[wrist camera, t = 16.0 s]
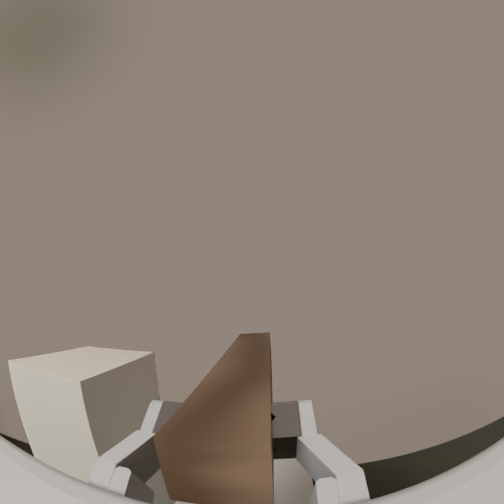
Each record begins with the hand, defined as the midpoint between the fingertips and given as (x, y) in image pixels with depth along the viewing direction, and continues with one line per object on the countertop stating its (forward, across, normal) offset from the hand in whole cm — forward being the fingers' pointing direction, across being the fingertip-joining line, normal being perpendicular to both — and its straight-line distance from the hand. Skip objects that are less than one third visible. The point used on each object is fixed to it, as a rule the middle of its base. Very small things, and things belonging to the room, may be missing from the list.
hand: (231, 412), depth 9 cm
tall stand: (-3, -17, -30) cm, 34 cm away
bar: (+5, 0, -5) cm, 7 cm away
